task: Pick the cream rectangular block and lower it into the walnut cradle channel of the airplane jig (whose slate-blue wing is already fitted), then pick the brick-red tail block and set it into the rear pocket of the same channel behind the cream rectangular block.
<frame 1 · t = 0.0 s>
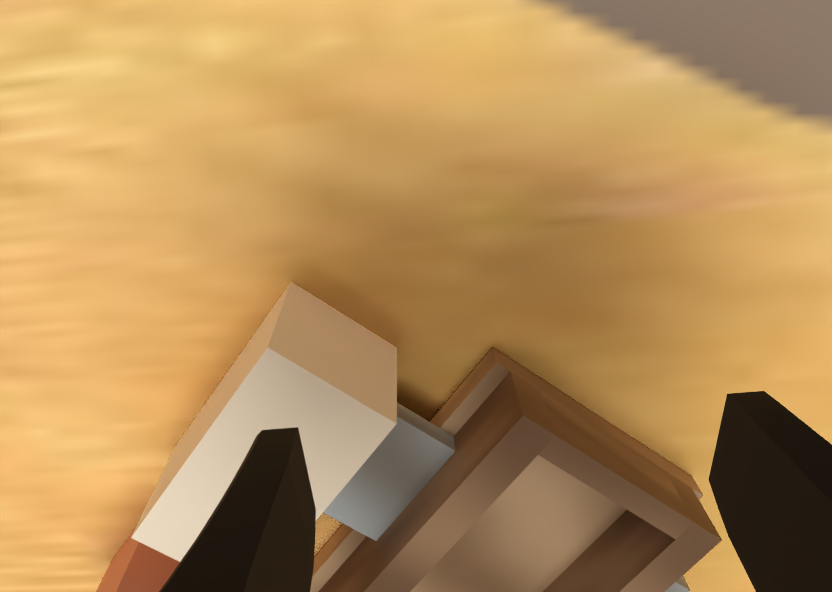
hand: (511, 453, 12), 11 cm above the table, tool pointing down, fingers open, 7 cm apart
cream rectangular block: (283, 396, 24), on the table
tail block: (186, 550, 27), on the table
jig: (454, 565, 27), on the table
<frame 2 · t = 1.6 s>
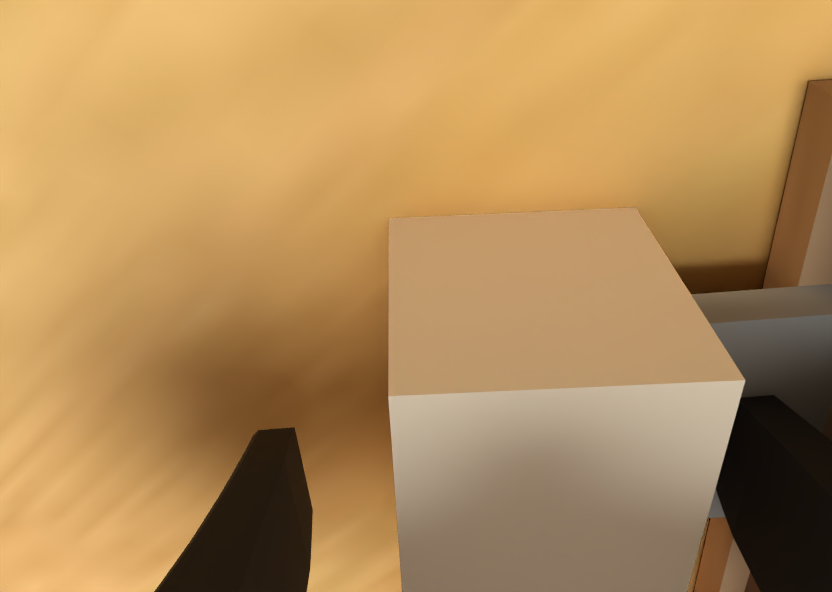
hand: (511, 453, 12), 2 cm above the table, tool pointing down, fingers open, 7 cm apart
cream rectangular block: (503, 385, 14), on the table
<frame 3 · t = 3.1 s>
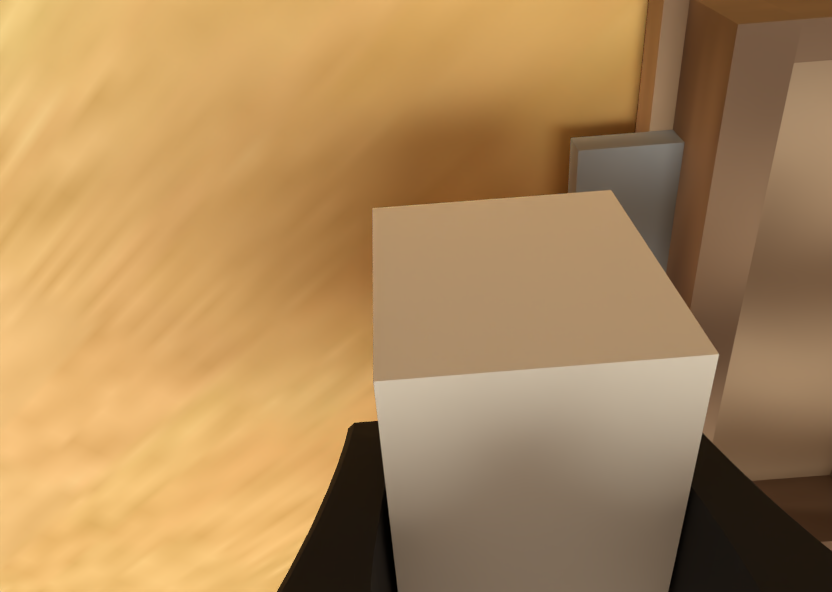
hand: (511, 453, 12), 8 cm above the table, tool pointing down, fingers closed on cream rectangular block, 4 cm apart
cream rectangular block: (492, 373, 14), point 6 cm above the table, touching gripper
jig: (777, 277, 21), on the table
when the fingers open (4 cm above the table, at t = 4.8 s): cream rectangular block drops 1 cm, resting on jig.
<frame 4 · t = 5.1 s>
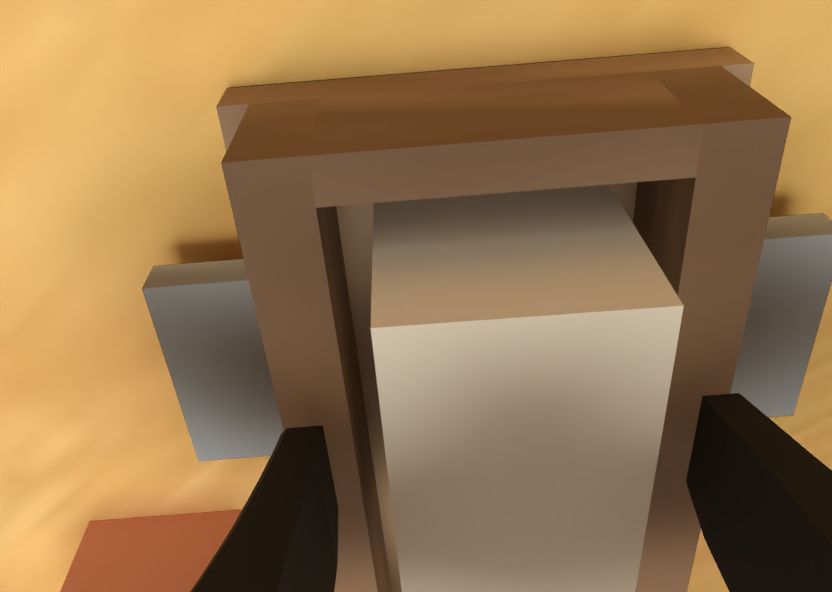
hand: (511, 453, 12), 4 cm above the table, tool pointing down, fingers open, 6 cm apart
cream rectangular block: (487, 340, 15), point 1 cm above the table, touching jig
tail block: (184, 562, 20), on the table
jig: (485, 406, 17), on the table
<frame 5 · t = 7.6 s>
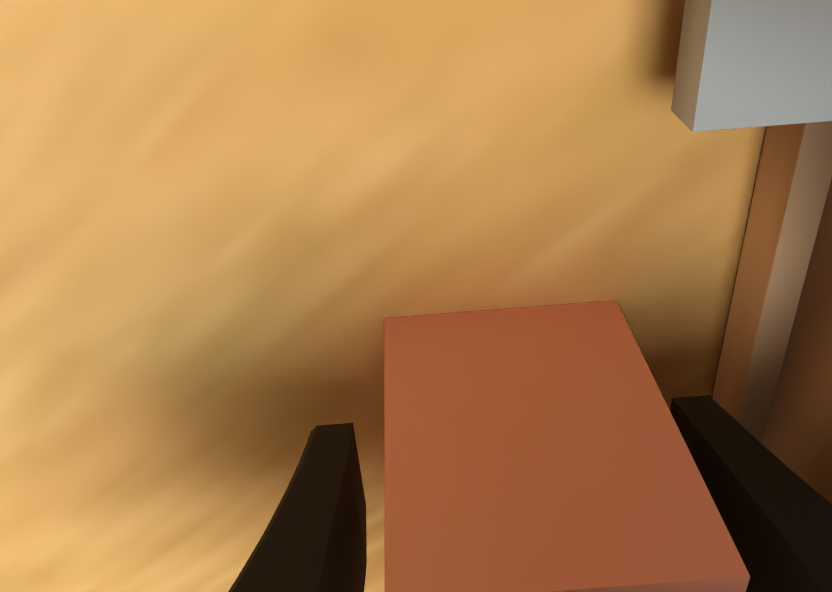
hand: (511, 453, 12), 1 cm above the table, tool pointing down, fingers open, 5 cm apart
tail block: (500, 396, 14), on the table
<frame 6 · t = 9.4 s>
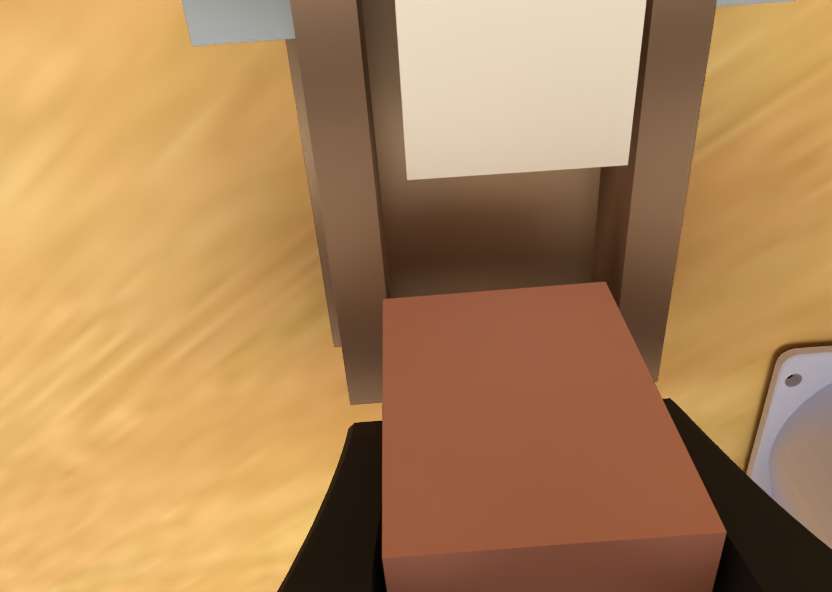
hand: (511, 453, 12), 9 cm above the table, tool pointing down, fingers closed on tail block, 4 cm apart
tail block: (495, 376, 14), point 7 cm above the table, touching gripper
jig: (484, 36, 17), on the table
when the fingers open (4 cm above the table, at t = 10.8 s): tail block drops 1 cm, resting on jig.
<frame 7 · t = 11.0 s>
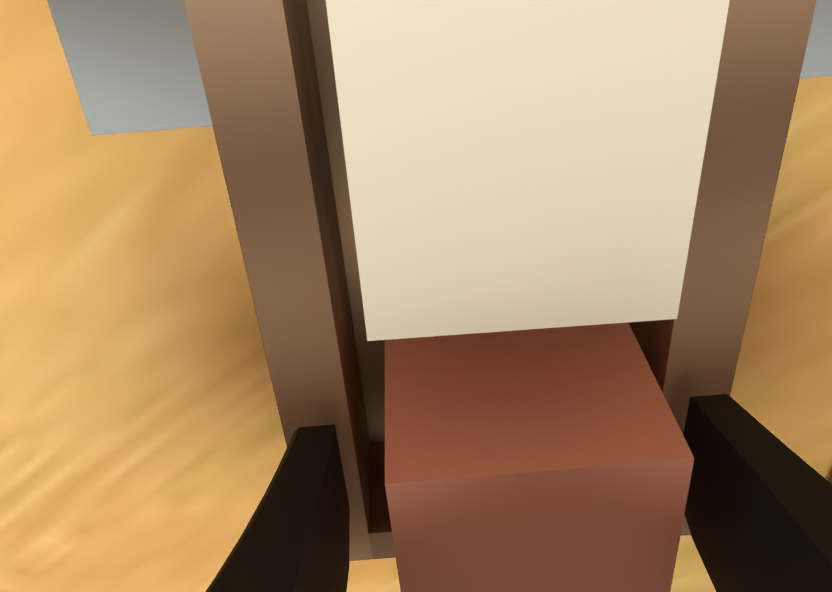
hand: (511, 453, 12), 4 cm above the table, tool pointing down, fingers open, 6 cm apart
tail block: (490, 340, 15), point 1 cm above the table, touching jig
jig: (478, 108, 13), on the table
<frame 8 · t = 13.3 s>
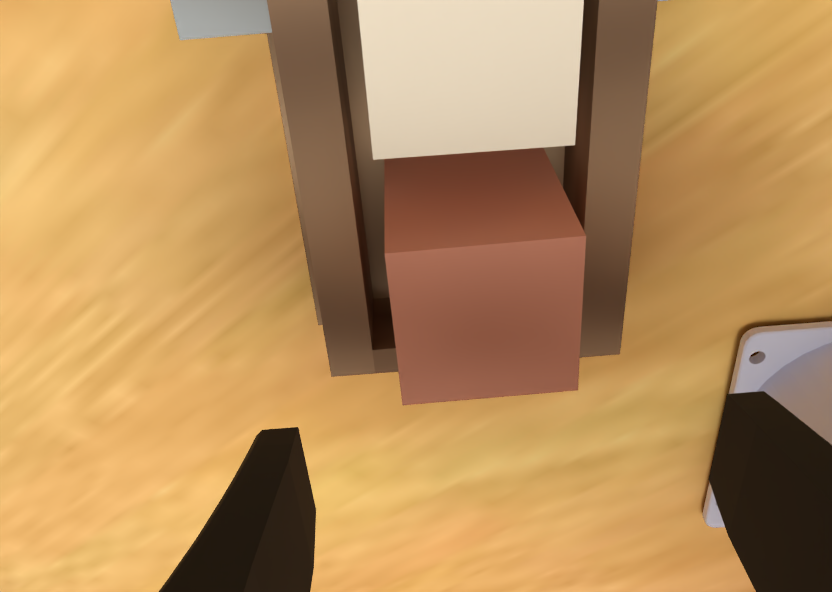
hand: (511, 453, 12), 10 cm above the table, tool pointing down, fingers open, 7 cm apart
tail block: (463, 210, 20), point 1 cm above the table, touching jig
jig: (453, 30, 18), on the table
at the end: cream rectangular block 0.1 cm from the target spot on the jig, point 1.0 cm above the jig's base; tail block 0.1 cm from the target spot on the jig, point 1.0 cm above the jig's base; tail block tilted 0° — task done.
